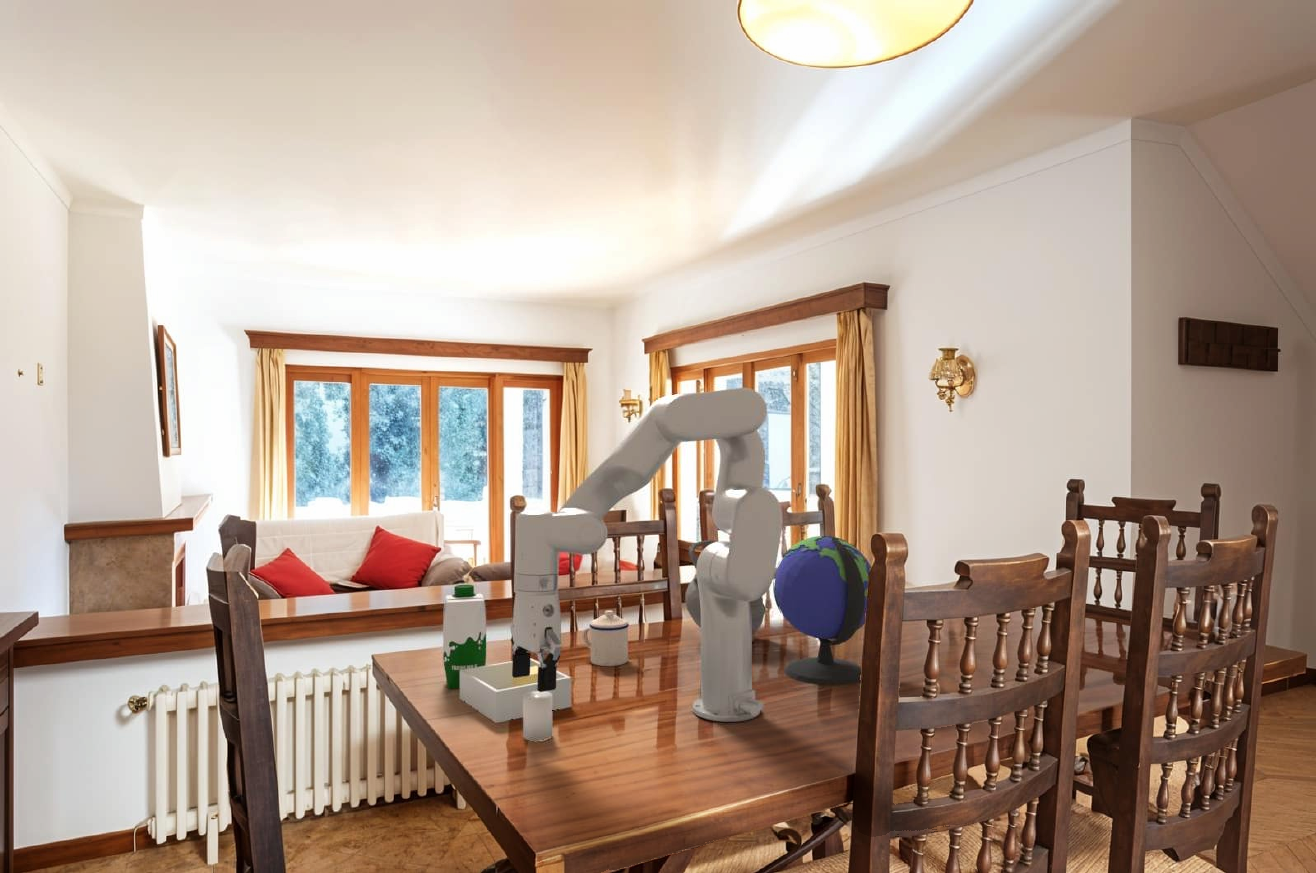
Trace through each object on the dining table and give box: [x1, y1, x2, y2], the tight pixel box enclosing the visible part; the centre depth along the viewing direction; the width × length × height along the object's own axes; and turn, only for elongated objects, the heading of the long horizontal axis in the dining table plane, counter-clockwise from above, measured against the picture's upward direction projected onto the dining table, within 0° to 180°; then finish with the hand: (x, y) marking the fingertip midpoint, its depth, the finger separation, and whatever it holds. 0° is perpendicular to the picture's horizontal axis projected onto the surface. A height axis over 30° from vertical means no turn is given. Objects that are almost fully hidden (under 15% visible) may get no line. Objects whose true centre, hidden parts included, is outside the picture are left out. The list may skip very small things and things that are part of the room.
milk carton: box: [442, 584, 487, 690], centre depth 169 cm, size 9×9×20 cm
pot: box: [684, 539, 767, 642], centre depth 205 cm, size 21×21×25 cm
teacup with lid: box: [582, 609, 630, 667], centre depth 186 cm, size 12×9×12 cm
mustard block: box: [513, 666, 538, 687], centre depth 158 cm, size 5×5×5 cm
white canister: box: [522, 691, 554, 741], centre depth 138 cm, size 5×5×7 cm
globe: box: [772, 535, 872, 686], centre depth 176 cm, size 22×22×30 cm
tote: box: [459, 657, 572, 724], centre depth 156 cm, size 17×15×6 cm
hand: (533, 683), depth 138 cm, fingers open, 9 cm apart
